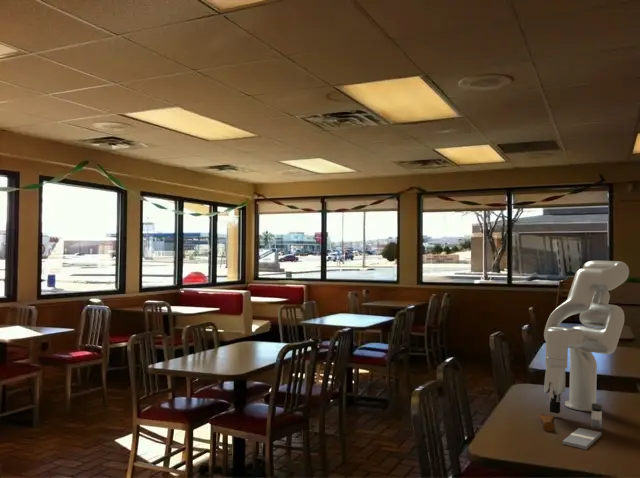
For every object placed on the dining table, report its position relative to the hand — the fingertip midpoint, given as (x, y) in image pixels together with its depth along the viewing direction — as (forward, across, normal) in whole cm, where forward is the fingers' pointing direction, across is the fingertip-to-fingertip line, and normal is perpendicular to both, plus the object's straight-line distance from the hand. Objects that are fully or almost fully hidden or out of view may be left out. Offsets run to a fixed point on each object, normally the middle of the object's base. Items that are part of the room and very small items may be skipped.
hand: (554, 412), depth 211 cm
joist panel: (+2, +21, +15) cm, 26 cm away
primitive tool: (+2, +10, 0) cm, 11 cm away
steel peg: (+2, +4, +15) cm, 16 cm away
